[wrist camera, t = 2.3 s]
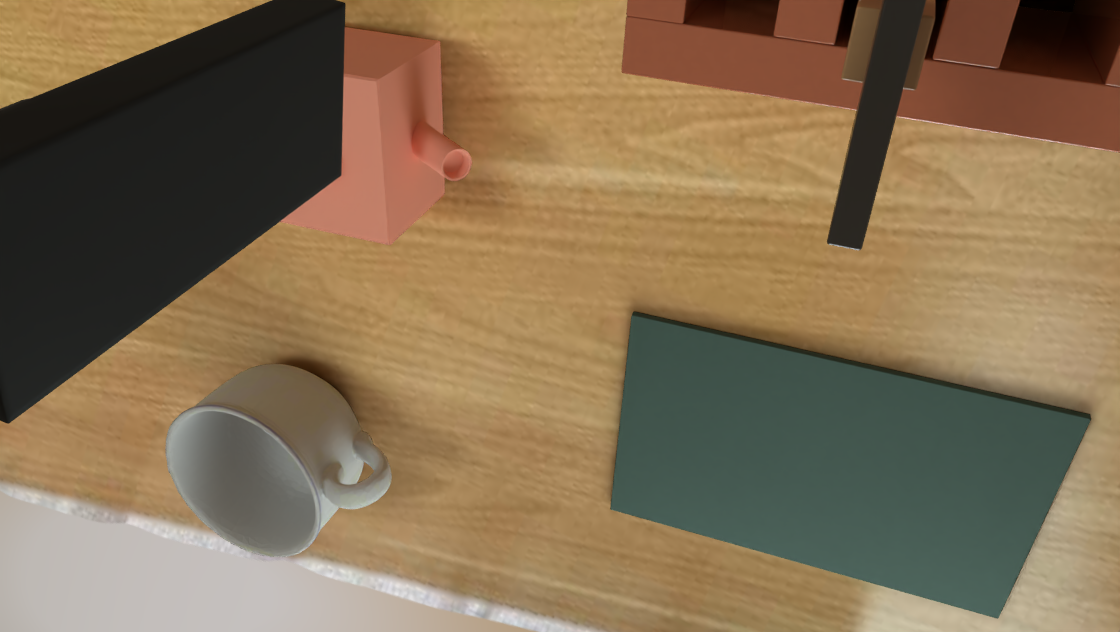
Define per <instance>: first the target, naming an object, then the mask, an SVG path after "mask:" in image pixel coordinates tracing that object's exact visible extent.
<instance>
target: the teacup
mask: <svg viewBox="0 0 1120 632" xmlns="http://www.w3.org/2000/svg"><path fill="white" fill-rule="evenodd" d="M166 458H167V465H168V470H169V473H170V474H171V477H172V479H173V481H174V483H175V485H176V488H177V490H178V492H179V494H180V495H181V496H182V498H183V499H184V501H185V502H186V504H187V505H188V506H189V508H190V509H191V510H192V511H193V512H194V513H195V514H196V515H197V517H198V518H199V519H200V520H201V521H202V522H203V523H205V524H206V525H207V526H208V527H209V528H210V529H211V530H213V531H214V532H216V533H217V534H218V535H219V536H221V537H222V538H223V539H225V540H227V541H228V542H230V543H232V544H233V545H236V546H238V547H240V548H241V549H244V550H246V551H248V552H252V553H254V554H258V555H262V556H268V557H286V556H292V555H296V554H298V553H300V552H301V551H303V550H304V549H306V548H308V547H309V546H310V545H311V544H312V543H313V541H314V540H315V539H316V537H317V535H318V533H319V531H320V530H321V528H322V527H323V526H324V525H325V524H326V523H327V522H328V520H329V519H330V518H331V517H332V516H333V515H334V513H335V512H336V511H337V510H338V508H339V507H341V508H344V509H357V508H361V507H365V506H368V505H370V504H371V503H373V502H375V501H377V500H378V499H379V498H380V497H382V496H383V495H384V494H385V493H386V491H387V490H388V488H389V486H390V483H391V478H392V474H391V469H390V465H389V463H388V460H387V458H386V456H385V455H384V453H383V452H382V451H381V450H380V449H379V448H377V447H376V446H375V445H374V444H373V443H372V439H371V437H370V435H369V434H368V433H366V432H363V431H361V428H360V425H359V423H358V421H357V419H356V417H355V415H354V413H353V411H352V409H351V407H350V405H349V404H348V403H347V401H346V400H345V398H344V397H343V396H342V395H341V394H340V393H339V392H338V391H337V390H336V389H335V388H334V387H333V386H331V385H330V384H329V383H327V382H326V381H324V380H323V379H321V378H319V377H317V376H316V375H314V374H312V373H310V372H308V371H306V370H303V369H300V368H298V367H294V366H290V365H284V364H265V365H260V366H256V367H253V368H250V369H247V370H245V371H243V372H241V373H239V374H237V375H236V376H234V377H233V378H231V379H230V380H228V381H227V382H225V383H224V384H223V385H221V386H220V387H218V388H217V389H216V390H214V391H213V392H212V393H211V394H209V395H208V396H207V397H205V398H204V399H203V400H202V401H200V402H199V403H198V404H197V405H196V406H194V407H192V408H190V409H188V410H186V411H184V412H183V413H181V414H180V415H179V416H178V417H177V418H176V419H175V420H174V421H173V423H172V424H171V426H170V428H169V430H168V434H167V438H166ZM364 462H365V463H367V464H368V465H370V466H371V467H372V468H373V469H374V472H373V474H372V475H371V476H369V477H368V478H367V479H365V480H363V481H361V482H359V483H357V481H358V479H359V477H360V475H361V472H362V469H363V464H364Z"/></svg>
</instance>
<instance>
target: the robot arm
mask: <svg viewBox="0 0 1120 632" xmlns="http://www.w3.org/2000/svg"><path fill="white" fill-rule="evenodd" d="M344 41H345V3H344V2H340V1H336V0H272V1H269V2H267V3H264V4H262V5H260V6H257V7H255V8H252V9H250V10H247V11H245V12H242V13H240V14H237V15H235V16H232V17H230V18H228V19H225V20H223V21H220V22H218V23H215V24H213V25H210V26H208V27H205V28H203V29H200V30H198V31H196V32H193V33H191V34H188V35H186V36H183V37H181V38H178V39H176V40H173V41H171V42H168V43H166V44H164V45H161V46H159V47H156V48H154V49H151V50H149V51H146V52H144V53H141V54H139V55H136V56H134V57H132V58H129V59H127V60H124V61H122V62H119V63H117V64H114V65H112V66H109V67H107V68H104V69H102V70H100V71H97V72H95V73H92V74H90V75H87V76H85V77H82V78H80V79H77V80H75V81H72V82H70V83H68V84H65V85H63V86H60V87H58V88H55V89H53V90H50V91H48V92H45V93H43V94H40V95H38V96H36V97H33V98H30V99H25V100H21V101H19V102H16V103H14V104H11V105H9V106H6V107H4V108H1V109H0V421H3V422H5V423H8V424H9V423H10V422H11V421H13V420H14V419H15V418H17V417H18V416H19V415H21V414H22V413H24V412H25V411H26V410H28V409H29V408H30V407H32V406H33V405H34V404H36V403H37V402H38V401H40V400H41V399H42V398H44V397H45V396H46V395H48V394H49V393H50V392H52V391H53V390H54V389H56V388H57V387H58V386H60V385H61V384H62V383H64V382H65V381H66V380H68V379H69V378H70V377H72V376H73V375H74V374H76V373H77V372H79V371H80V370H81V369H83V368H84V367H85V366H87V365H88V364H89V363H91V362H92V361H93V360H95V359H96V358H97V357H99V356H100V355H101V354H103V353H104V352H105V351H107V350H108V349H109V348H111V347H112V346H113V345H115V344H116V343H117V342H119V341H120V340H121V339H123V338H124V337H125V336H127V335H128V334H129V333H131V332H132V331H134V330H135V329H136V328H138V327H139V326H140V325H142V324H143V323H144V322H146V321H147V320H148V319H150V318H151V317H152V316H154V315H155V314H156V313H158V312H159V311H160V310H162V309H163V308H164V307H166V306H167V305H168V304H170V303H171V302H172V301H174V300H175V299H176V298H178V297H179V296H180V295H182V294H183V293H185V292H186V291H187V290H189V289H190V288H191V287H193V286H194V285H195V284H197V283H198V282H199V281H201V280H202V279H203V278H205V277H206V276H207V275H209V274H210V273H211V272H213V271H214V270H215V269H217V268H218V267H219V266H221V265H222V264H223V263H225V262H226V261H227V260H229V259H230V258H231V257H233V256H234V255H235V254H237V253H238V252H240V251H241V250H242V249H244V248H245V247H246V246H248V245H249V244H250V243H252V242H253V241H254V240H256V239H257V238H258V237H260V236H261V235H262V234H264V233H265V232H266V231H268V230H269V229H270V228H272V227H273V226H274V225H276V224H277V223H278V222H280V221H281V220H282V219H284V218H285V217H286V216H288V215H289V214H290V213H292V212H293V211H295V210H296V209H297V208H299V207H300V206H301V205H303V204H304V203H305V202H307V201H308V200H309V199H311V198H312V197H313V196H315V195H316V194H317V193H319V192H320V191H321V190H323V189H324V188H325V187H327V186H328V185H329V184H331V183H332V182H333V181H335V180H336V179H337V178H339V177H340V176H341V174H342V130H343V85H344Z"/></svg>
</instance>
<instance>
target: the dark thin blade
mask: <svg viewBox="0 0 1120 632" xmlns="http://www.w3.org/2000/svg"><path fill="white" fill-rule="evenodd" d="M934 21H935V0H859V1H858V4H857V8H856V12H855V16H854V21H853V25H852V30H851V35H850V39H849V44H848V48H847V53H846V57H845V62H844V66H843V71H842V75H841V78H842V79H843V80H848V81H854V82H861V83H863V85H862V89H861V93H860V97H859V102H858V106H857V110H856V114H855V119H854V123H853V127H852V132H851V136H850V140H849V144H848V149H847V153H846V158H845V162H844V167H843V171H842V176H841V180H840V185H839V189H838V194H837V198H836V203H835V207H834V212H833V216H832V221H831V225H830V230H829V234H828V239H827V243H828V244H830V245H835V246H840V247H845V248H850V249H855V250H861V249H862V246H863V242H864V238H865V234H866V231H867V227H868V223H869V219H870V215H871V211H872V207H873V204H874V200H875V196H876V192H877V188H878V184H879V181H880V177H881V173H882V169H883V165H884V161H885V157H886V154H887V150H888V146H889V142H890V138H891V134H892V130H893V127H894V123H895V119H896V115H897V111H898V107H899V103H900V100H901V96H902V92H903V89H907V90H916V88H917V85H918V81H919V77H920V74H921V70H922V66H923V62H924V59H925V55H926V51H927V48H928V44H929V40H930V36H931V33H932V29H933V25H934Z"/></svg>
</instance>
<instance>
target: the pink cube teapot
mask: <svg viewBox="0 0 1120 632" xmlns="http://www.w3.org/2000/svg"><path fill="white" fill-rule="evenodd" d="M441 74H442V72H441V50H440V41H436V40H429V39H423V38H416V37H409V36H402V35H395V34H389V33H382V32H375V31H368V30H361V29H355V28H348V27H345V41H344V85H343V130H342V174H341V176H340V177H339V178H337V179H336V180H335V181H333V182H332V183H331V184H329V185H328V186H327V187H325V188H324V189H323V190H321V191H320V192H319V193H317V194H316V195H315V196H313V197H312V198H311V199H309V200H308V201H307V202H305V203H304V204H303V205H301V206H300V207H299V208H297V209H296V210H295V211H293V212H292V213H290V214H289V215H288V216H286V217H285V218H284V219H282V220H281V221H280V222H284V223H288V224H293V225H297V226H302V227H306V228H311V229H315V230H320V231H325V232H330V233H334V234H339V235H344V236H349V237H354V238H359V239H364V240H369V241H373V242H378V243H383V244H386V245H391V244H392V243H393V242H394V241H395V240H396V239H397V238H398V237H399V236H401V235H402V234H403V233H404V232H405V231H406V230H407V229H408V228H409V227H410V226H411V225H412V224H413V223H414V222H415V221H416V220H418V219H419V218H420V217H421V216H422V215H423V214H424V213H425V212H426V211H427V210H428V209H429V208H430V207H431V206H432V205H434V204H435V203H436V202H437V201H438V200H439V199H440V198H441V197H442V196H443V195H444V194H445V178H446V179H448V180H450V181H458V180H461V179H463V178H464V177H465V176H466V175H467V174H468V173H469V171H470V169H471V165H472V159H471V156H470V154H469V153H468V152H467V151H466V150H464V149H463V148H461V147H460V146H459V145H457V144H456V143H454V142H453V141H451V140H450V139H449V138H447V137H446V136H444V135H443V110H442V79H441Z"/></svg>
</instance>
